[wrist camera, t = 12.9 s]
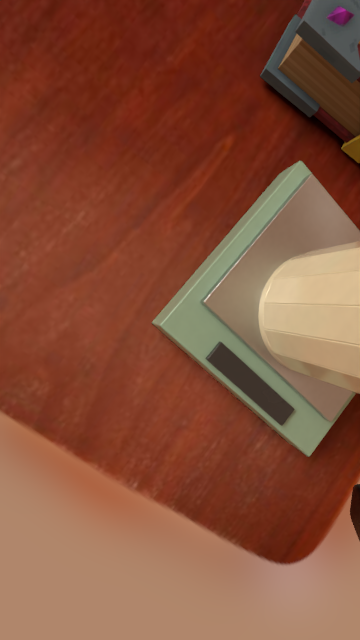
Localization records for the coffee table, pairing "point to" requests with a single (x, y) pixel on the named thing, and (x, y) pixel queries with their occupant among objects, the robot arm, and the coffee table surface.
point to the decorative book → (322, 67)
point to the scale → (243, 304)
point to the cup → (316, 315)
